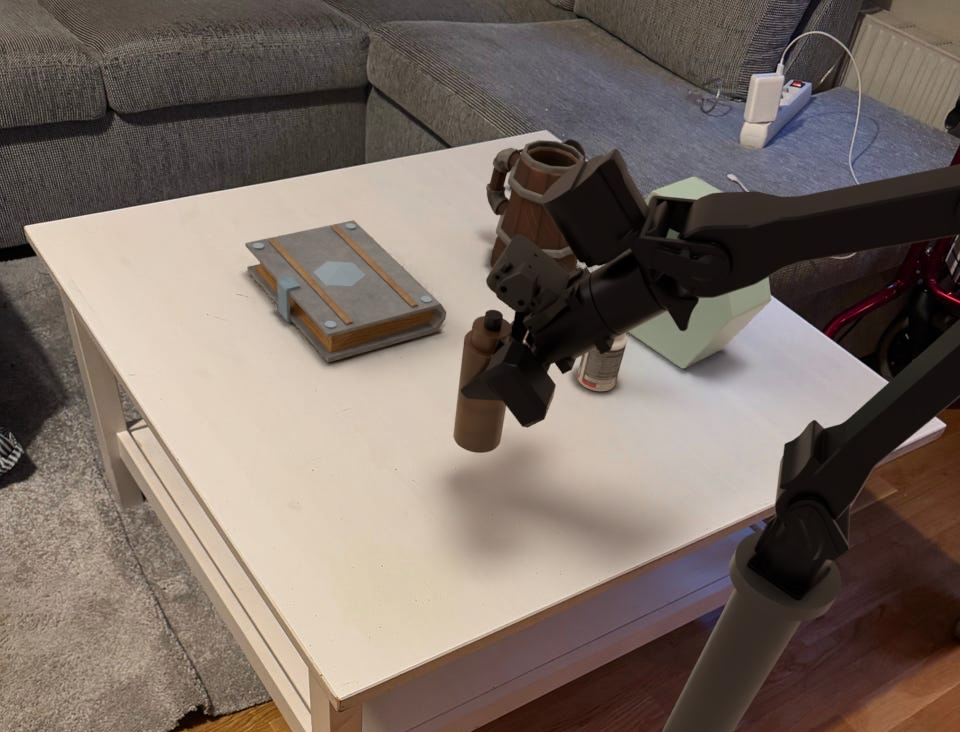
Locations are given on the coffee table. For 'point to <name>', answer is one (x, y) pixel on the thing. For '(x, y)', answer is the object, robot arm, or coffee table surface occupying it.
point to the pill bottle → (602, 366)
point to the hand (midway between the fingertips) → (471, 378)
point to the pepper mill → (475, 417)
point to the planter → (701, 304)
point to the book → (343, 290)
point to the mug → (530, 197)
